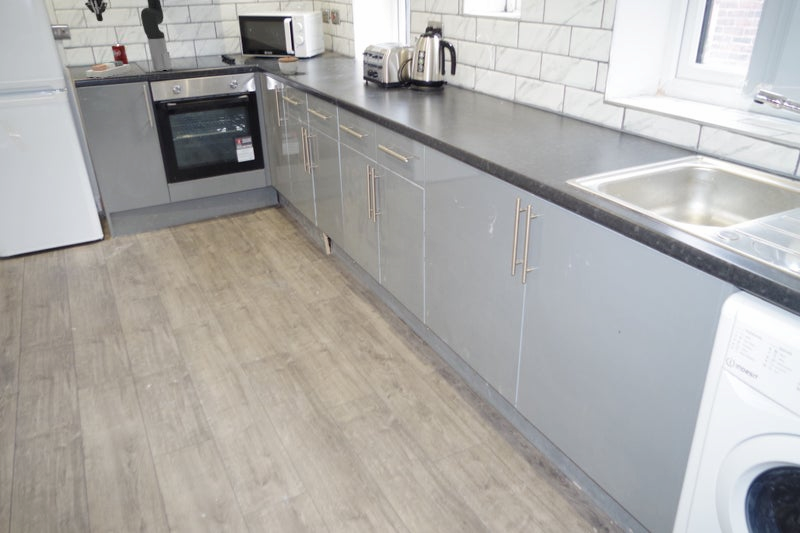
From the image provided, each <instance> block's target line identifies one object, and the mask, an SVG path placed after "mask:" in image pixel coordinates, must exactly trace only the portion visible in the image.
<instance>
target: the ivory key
mask: <svg viewBox="0 0 800 533" xmlns="http://www.w3.org/2000/svg"><path fill="white" fill-rule="evenodd" d="M100 65H106V67H107V69H111V68H115V64H114V63H109V62H105V63H100Z"/></svg>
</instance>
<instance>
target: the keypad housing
mask: <svg viewBox="0 0 800 533" xmlns="http://www.w3.org/2000/svg"><path fill="white" fill-rule="evenodd" d="M128 72H132V68H131V64H123V66H119V67H115V68H111V69H107V70H103V71H93V69H90V70H89V69H88V70H86V71H85V74H86V78H87V77H107V78H109V77H108V76H110V77H114V76H117V74H118V75H121V74H125V73H128ZM113 75H114V76H113Z"/></svg>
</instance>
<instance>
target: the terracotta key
mask: <svg viewBox="0 0 800 533" xmlns="http://www.w3.org/2000/svg"><path fill="white" fill-rule="evenodd" d="M91 68H92V69H91V70H93V71H103V70H107V67H106V65H101V64H96V65H92V66H91Z"/></svg>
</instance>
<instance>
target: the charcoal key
mask: <svg viewBox="0 0 800 533" xmlns="http://www.w3.org/2000/svg"><path fill="white" fill-rule="evenodd" d="M108 63H114V64H115V67H119V66H123V61H115V60H113V61H110V62H108Z"/></svg>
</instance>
